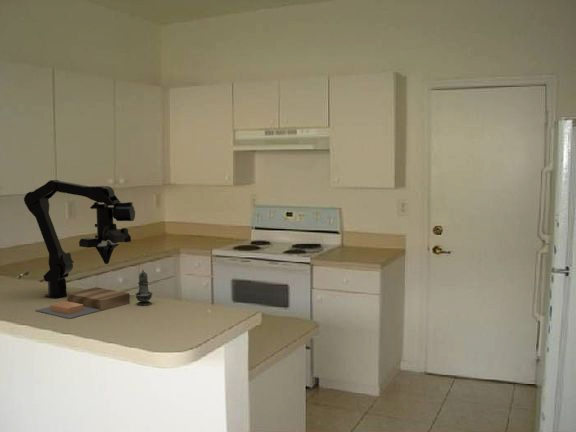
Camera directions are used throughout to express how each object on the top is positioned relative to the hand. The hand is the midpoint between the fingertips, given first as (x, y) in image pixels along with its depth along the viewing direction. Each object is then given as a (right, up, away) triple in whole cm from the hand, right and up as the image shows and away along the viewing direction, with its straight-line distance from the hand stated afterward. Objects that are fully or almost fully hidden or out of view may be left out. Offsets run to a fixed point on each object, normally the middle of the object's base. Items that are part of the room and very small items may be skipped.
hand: (106, 263), depth 210 cm
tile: (-7, -12, -20) cm, 24 cm away
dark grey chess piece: (+16, -13, -10) cm, 23 cm away
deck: (0, -13, -9) cm, 16 cm away
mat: (-7, -14, -19) cm, 25 cm away
